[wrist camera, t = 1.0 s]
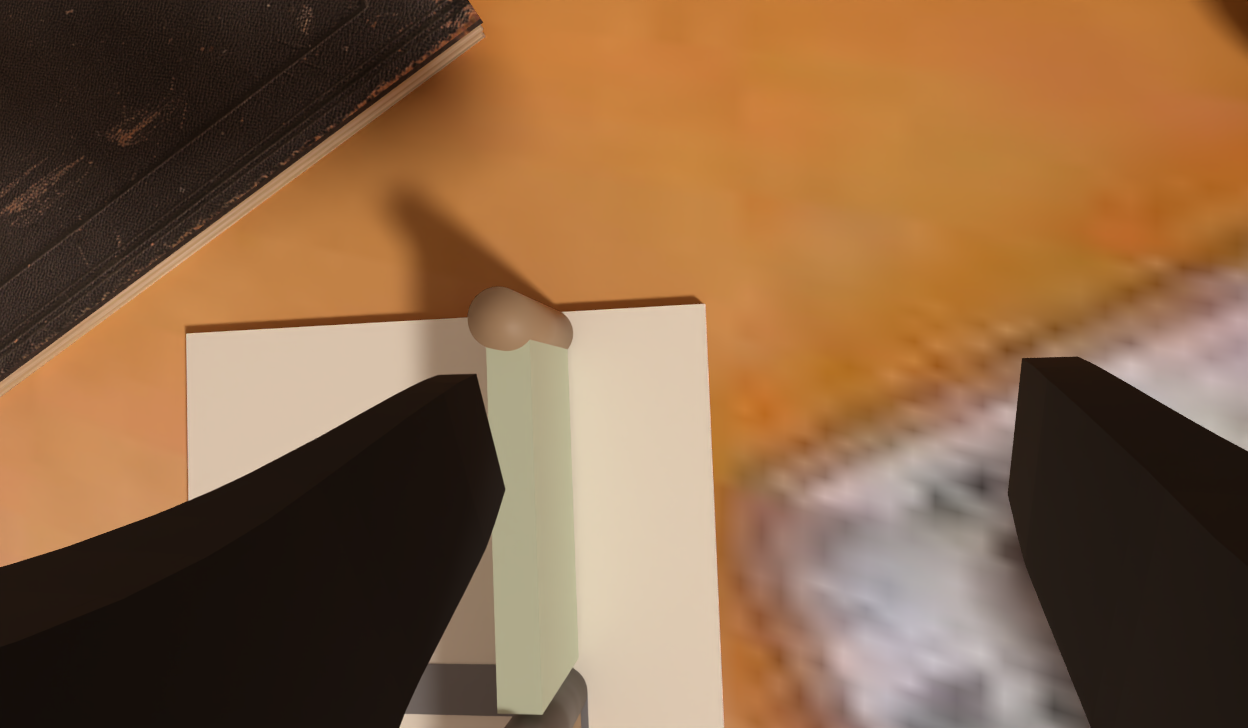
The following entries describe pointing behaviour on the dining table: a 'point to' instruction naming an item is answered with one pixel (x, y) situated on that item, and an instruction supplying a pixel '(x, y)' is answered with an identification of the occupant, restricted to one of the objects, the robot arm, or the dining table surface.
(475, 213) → the dining table surface
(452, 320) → the card
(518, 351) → the fence panel
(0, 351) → the hardcover book
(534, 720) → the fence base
